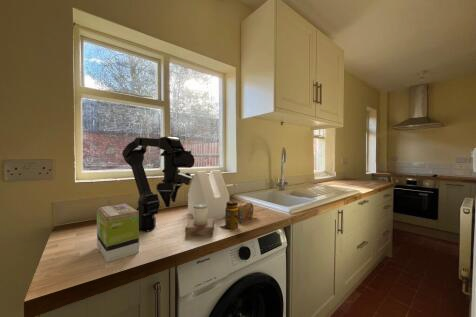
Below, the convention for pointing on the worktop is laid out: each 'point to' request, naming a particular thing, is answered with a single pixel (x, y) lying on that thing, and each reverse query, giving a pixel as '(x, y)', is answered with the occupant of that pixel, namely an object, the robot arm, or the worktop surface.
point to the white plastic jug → (208, 193)
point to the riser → (199, 229)
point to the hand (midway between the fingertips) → (171, 204)
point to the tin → (245, 212)
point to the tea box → (117, 231)
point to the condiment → (231, 217)
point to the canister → (200, 214)
